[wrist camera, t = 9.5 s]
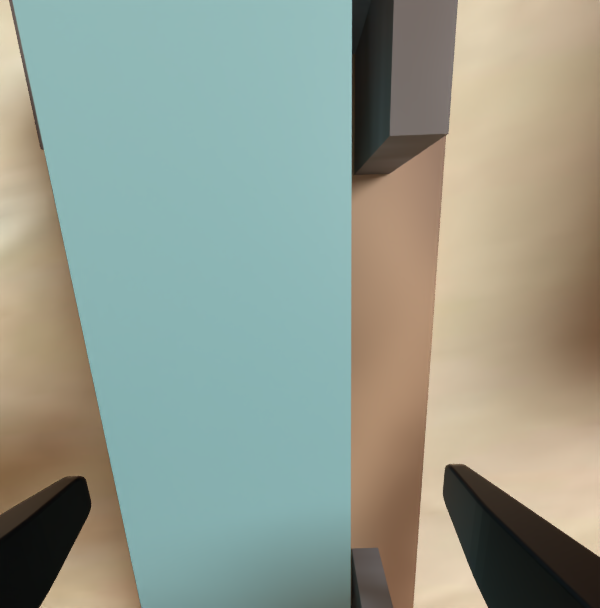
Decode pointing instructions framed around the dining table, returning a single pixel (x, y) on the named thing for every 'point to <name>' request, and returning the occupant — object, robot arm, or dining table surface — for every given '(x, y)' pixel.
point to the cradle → (390, 275)
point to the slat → (211, 279)
